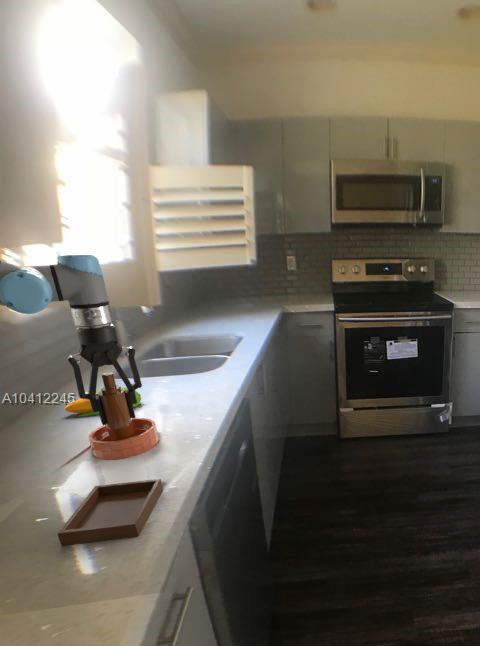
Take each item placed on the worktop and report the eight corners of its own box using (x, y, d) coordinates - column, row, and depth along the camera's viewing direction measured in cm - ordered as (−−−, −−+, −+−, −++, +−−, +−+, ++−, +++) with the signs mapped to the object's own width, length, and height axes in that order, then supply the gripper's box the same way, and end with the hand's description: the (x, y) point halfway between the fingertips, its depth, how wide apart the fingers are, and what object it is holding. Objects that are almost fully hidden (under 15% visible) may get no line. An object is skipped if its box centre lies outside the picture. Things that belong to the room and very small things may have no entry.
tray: (98, 496, 93) (95, 485, 92) (163, 489, 95) (160, 478, 94) (61, 546, 79) (57, 533, 78) (138, 536, 81) (135, 524, 80)
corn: (137, 387, 134) (56, 399, 127) (142, 411, 136) (64, 424, 129) (138, 381, 141) (62, 392, 133) (144, 405, 143) (69, 417, 136)
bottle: (105, 442, 110) (87, 377, 105) (118, 432, 116) (103, 370, 110) (127, 442, 110) (111, 377, 104) (140, 432, 115) (125, 370, 109)
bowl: (80, 461, 108) (74, 442, 106) (117, 435, 121) (112, 418, 120) (139, 461, 107) (134, 442, 105) (169, 435, 120) (165, 417, 119)
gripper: (45, 334, 95) (74, 435, 103) (143, 322, 105) (163, 415, 114) (44, 328, 101) (72, 424, 109) (137, 317, 111) (156, 406, 119)
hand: (118, 419), depth 111 cm, fingers closed on bottle, 6 cm apart
